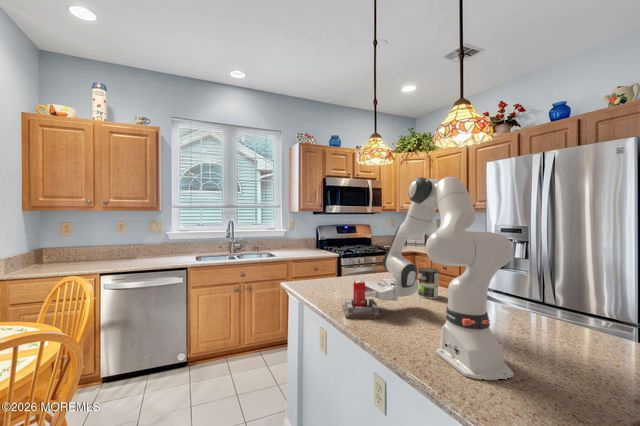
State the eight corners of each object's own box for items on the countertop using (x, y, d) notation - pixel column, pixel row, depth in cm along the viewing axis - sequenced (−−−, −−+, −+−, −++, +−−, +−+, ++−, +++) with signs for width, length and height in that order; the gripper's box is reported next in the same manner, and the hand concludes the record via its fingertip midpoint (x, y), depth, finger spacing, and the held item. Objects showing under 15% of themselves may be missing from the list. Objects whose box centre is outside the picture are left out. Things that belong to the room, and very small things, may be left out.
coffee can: (425, 299, 159) (426, 271, 159) (413, 294, 169) (414, 268, 169) (442, 298, 162) (443, 271, 162) (429, 292, 172) (430, 267, 172)
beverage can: (356, 310, 136) (356, 283, 136) (351, 307, 141) (351, 280, 141) (367, 309, 137) (367, 282, 138) (362, 306, 142) (362, 280, 143)
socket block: (381, 318, 130) (382, 309, 130) (346, 318, 130) (346, 308, 130) (374, 307, 145) (374, 298, 145) (342, 306, 145) (342, 298, 144)
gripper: (373, 277, 152) (348, 279, 146) (400, 287, 133) (372, 290, 127) (373, 290, 152) (348, 292, 146) (399, 301, 133) (372, 305, 128)
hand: (359, 291), depth 137 cm, fingers open, 8 cm apart
